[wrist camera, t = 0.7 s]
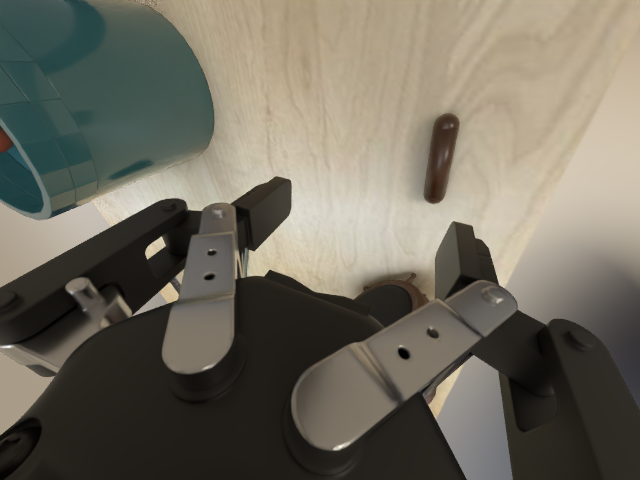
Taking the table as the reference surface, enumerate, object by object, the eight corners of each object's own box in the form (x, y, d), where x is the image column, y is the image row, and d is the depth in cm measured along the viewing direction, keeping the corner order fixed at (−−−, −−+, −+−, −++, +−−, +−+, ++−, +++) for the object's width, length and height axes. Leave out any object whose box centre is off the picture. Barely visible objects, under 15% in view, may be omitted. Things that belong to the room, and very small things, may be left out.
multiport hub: (186, 290, 69) (180, 296, 68) (166, 261, 63) (158, 267, 62) (197, 293, 67) (191, 299, 66) (177, 263, 62) (170, 268, 60)
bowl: (90, -37, 28) (-312, -144, 13) (224, 59, 28) (-11, 64, 13) (112, 115, 40) (-78, 150, 25) (205, 180, 41) (72, 250, 26)
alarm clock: (424, 257, 34) (412, 416, 19) (448, 293, 35) (455, 462, 21) (344, 282, 43) (294, 403, 28) (367, 310, 44) (332, 436, 30)
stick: (433, 113, 24) (437, 116, 22) (458, 110, 23) (464, 114, 21) (421, 198, 29) (423, 207, 27) (441, 198, 28) (445, 207, 27)
